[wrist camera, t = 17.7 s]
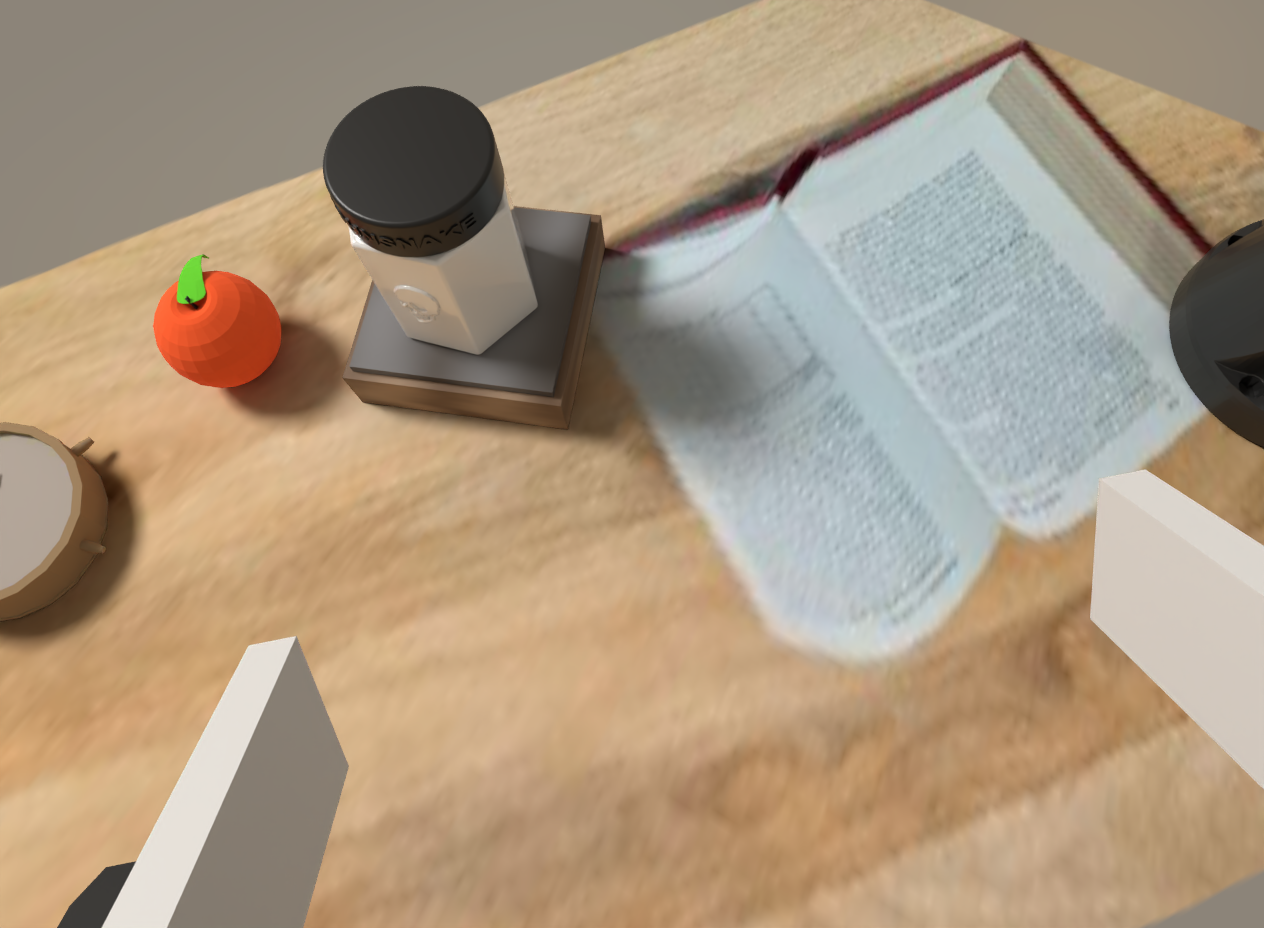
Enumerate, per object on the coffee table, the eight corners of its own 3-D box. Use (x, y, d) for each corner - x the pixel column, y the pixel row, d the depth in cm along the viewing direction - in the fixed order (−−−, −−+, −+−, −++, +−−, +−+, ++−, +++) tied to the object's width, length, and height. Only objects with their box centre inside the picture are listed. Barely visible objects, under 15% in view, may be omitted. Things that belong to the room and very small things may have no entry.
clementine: (190, 307, 57) (125, 244, 50) (294, 285, 57) (243, 219, 50) (194, 417, 54) (126, 364, 47) (304, 393, 54) (251, 337, 47)
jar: (371, 333, 51) (283, 204, 39) (422, 219, 53) (353, 68, 42) (515, 369, 49) (466, 246, 38) (560, 251, 52) (527, 103, 41)
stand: (605, 247, 57) (599, 209, 53) (567, 429, 52) (559, 402, 48) (414, 226, 58) (396, 187, 54) (362, 402, 54) (338, 373, 50)
